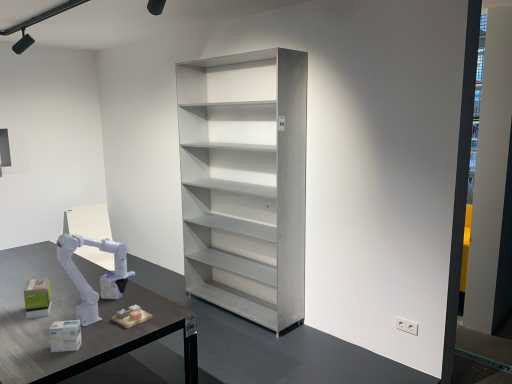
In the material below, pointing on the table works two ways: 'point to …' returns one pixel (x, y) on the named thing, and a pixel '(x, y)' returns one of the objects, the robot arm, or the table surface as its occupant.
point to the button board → (128, 321)
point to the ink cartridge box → (109, 287)
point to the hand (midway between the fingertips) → (121, 292)
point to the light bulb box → (65, 336)
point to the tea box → (37, 298)
